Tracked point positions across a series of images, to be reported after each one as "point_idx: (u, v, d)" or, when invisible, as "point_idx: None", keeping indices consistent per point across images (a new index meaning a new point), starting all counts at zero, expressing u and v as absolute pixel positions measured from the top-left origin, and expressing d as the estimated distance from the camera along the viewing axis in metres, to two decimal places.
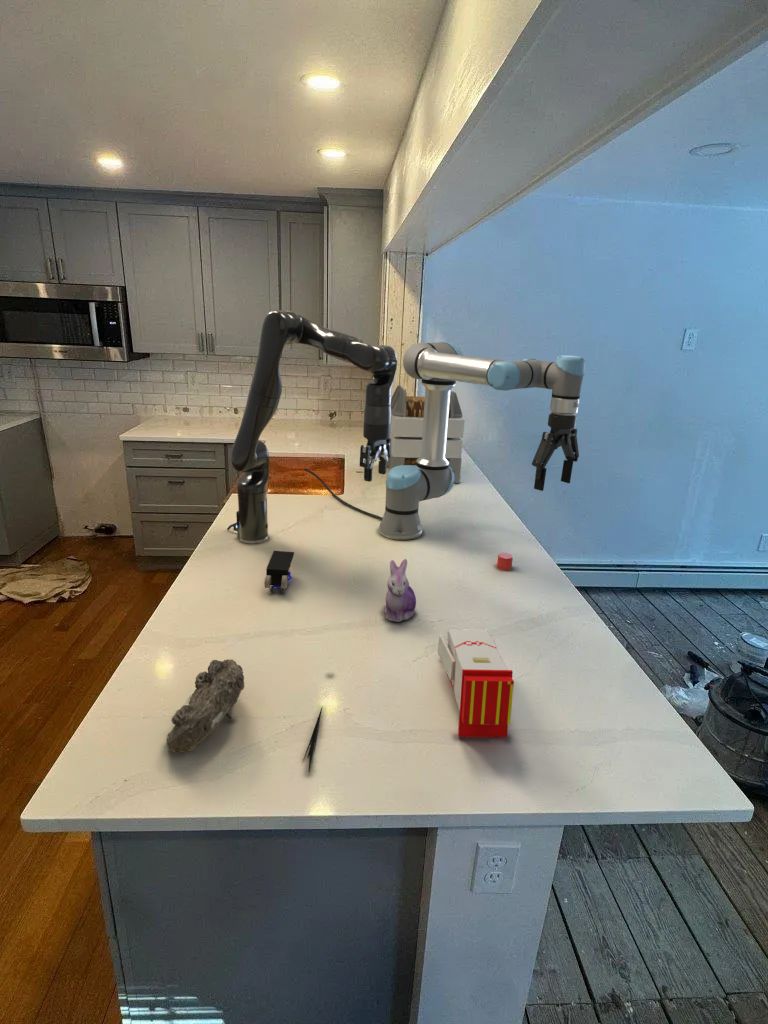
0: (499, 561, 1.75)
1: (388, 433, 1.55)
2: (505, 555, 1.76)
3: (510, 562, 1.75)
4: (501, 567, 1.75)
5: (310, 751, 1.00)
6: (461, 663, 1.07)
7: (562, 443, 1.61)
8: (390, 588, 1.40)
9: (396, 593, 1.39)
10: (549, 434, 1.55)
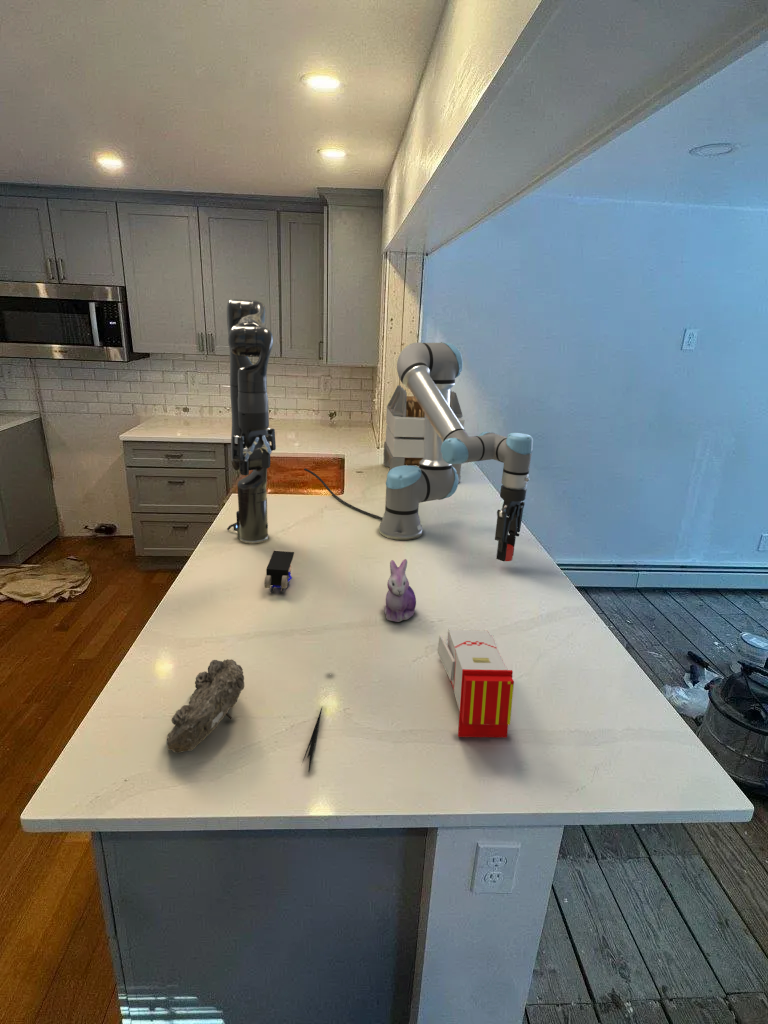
0: None
1: (264, 422, 1.42)
2: None
3: (511, 553, 1.74)
4: None
5: (310, 751, 1.00)
6: (461, 663, 1.07)
7: (514, 513, 1.71)
8: (390, 588, 1.40)
9: (396, 593, 1.39)
10: (503, 513, 1.65)
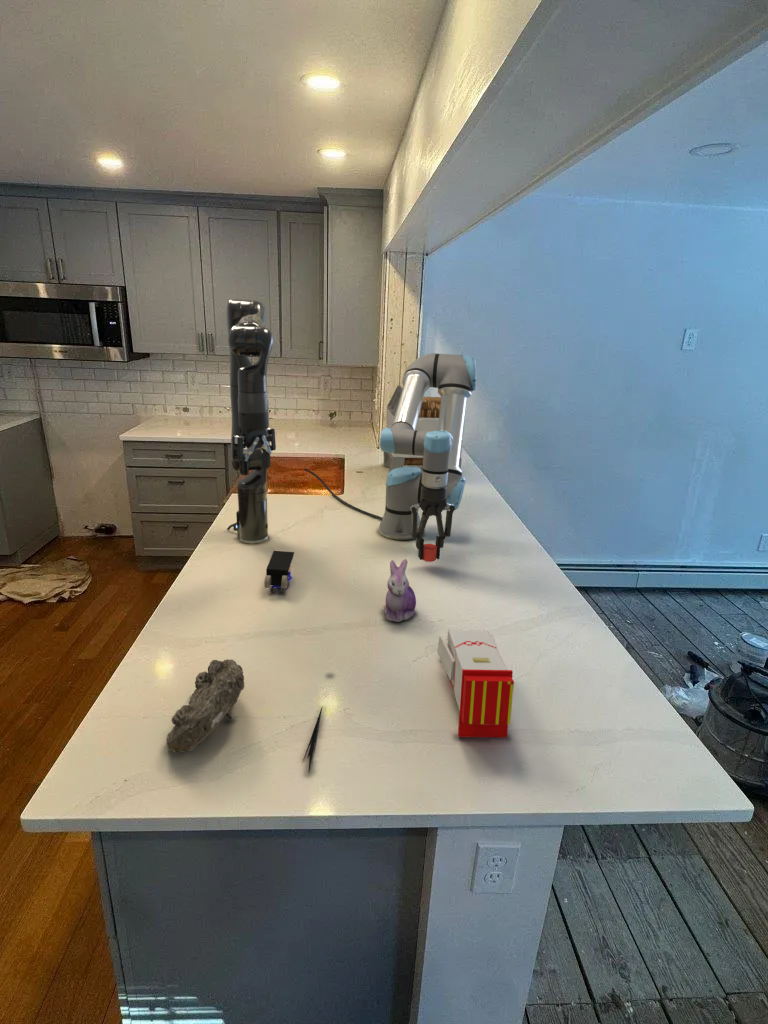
0: None
1: (264, 422, 1.42)
2: (429, 546, 1.72)
3: (429, 553, 1.71)
4: None
5: (310, 751, 1.00)
6: (461, 663, 1.07)
7: (433, 513, 1.68)
8: (390, 588, 1.40)
9: (396, 593, 1.39)
10: (411, 508, 1.66)
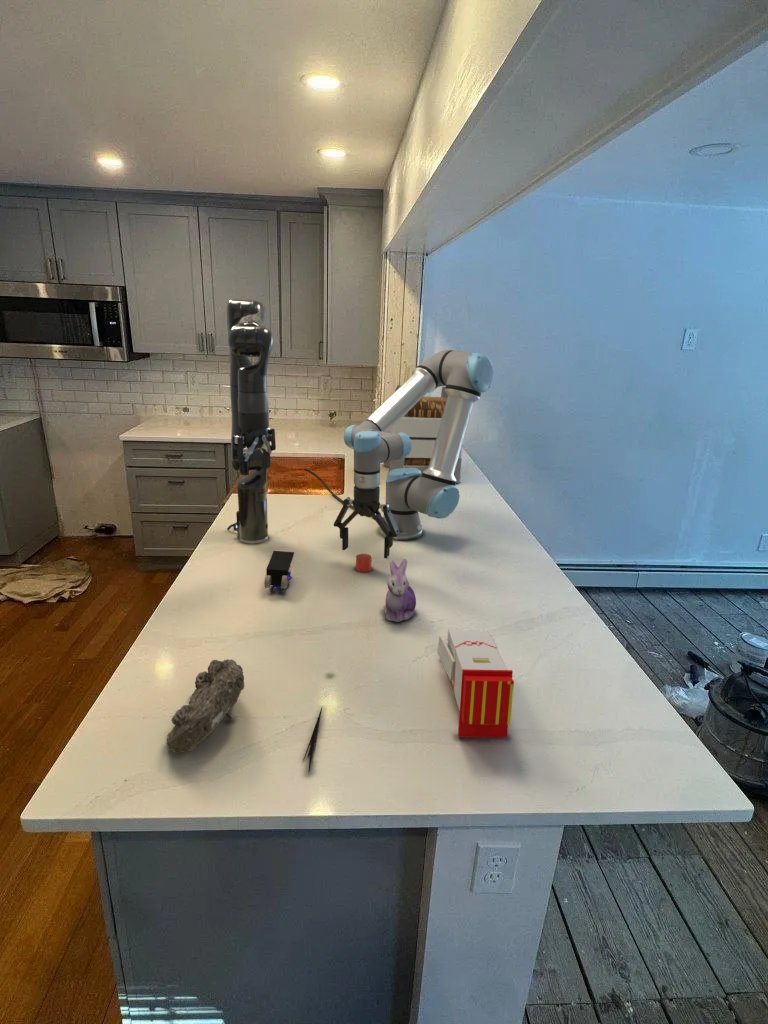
0: None
1: (264, 422, 1.42)
2: (364, 556, 1.71)
3: (359, 563, 1.70)
4: None
5: (310, 751, 1.00)
6: (461, 663, 1.07)
7: (365, 514, 1.65)
8: (390, 588, 1.40)
9: (396, 593, 1.39)
10: (344, 500, 1.67)
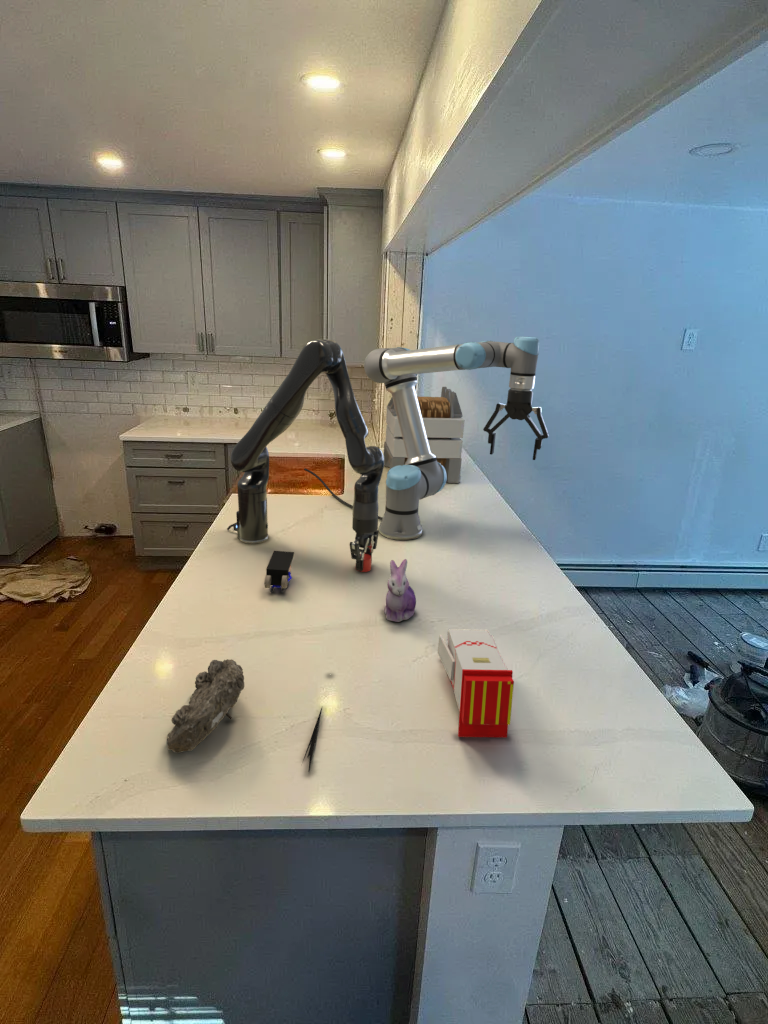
0: None
1: (375, 526, 1.65)
2: (364, 556, 1.71)
3: None
4: None
5: (310, 751, 1.00)
6: (461, 663, 1.07)
7: (517, 417, 1.76)
8: (390, 588, 1.40)
9: (396, 593, 1.39)
10: (497, 404, 1.78)
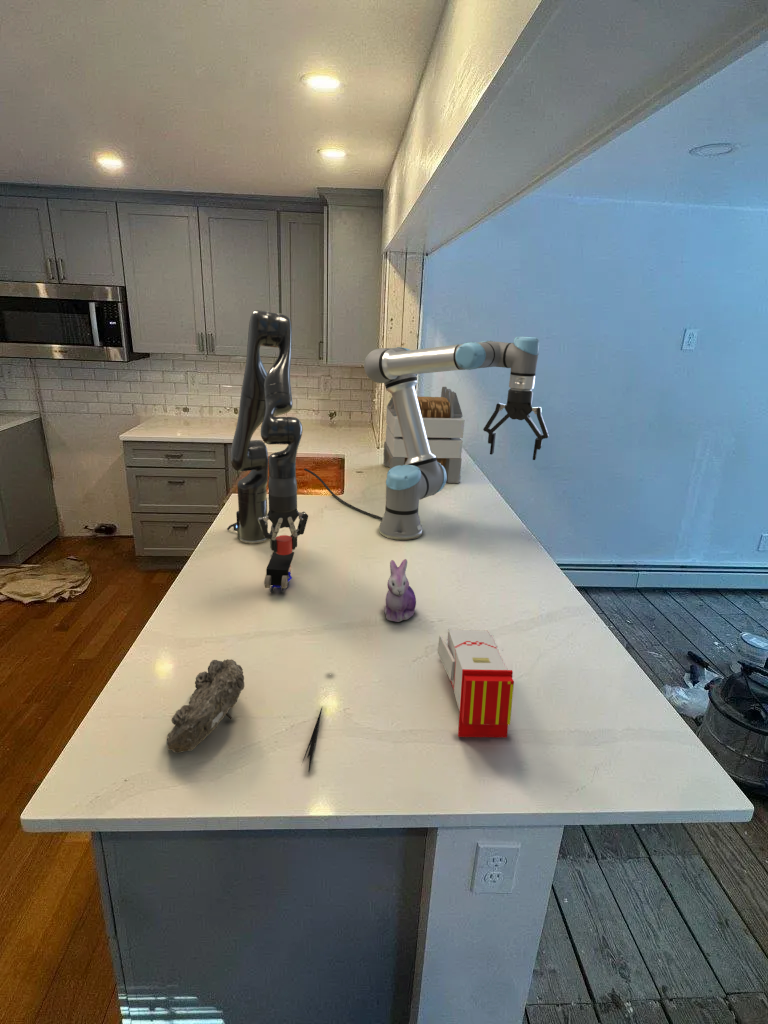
0: None
1: (286, 506, 1.49)
2: (284, 538, 1.56)
3: None
4: None
5: (310, 751, 1.00)
6: (461, 663, 1.07)
7: (517, 417, 1.76)
8: (390, 588, 1.40)
9: (396, 593, 1.39)
10: (497, 404, 1.78)
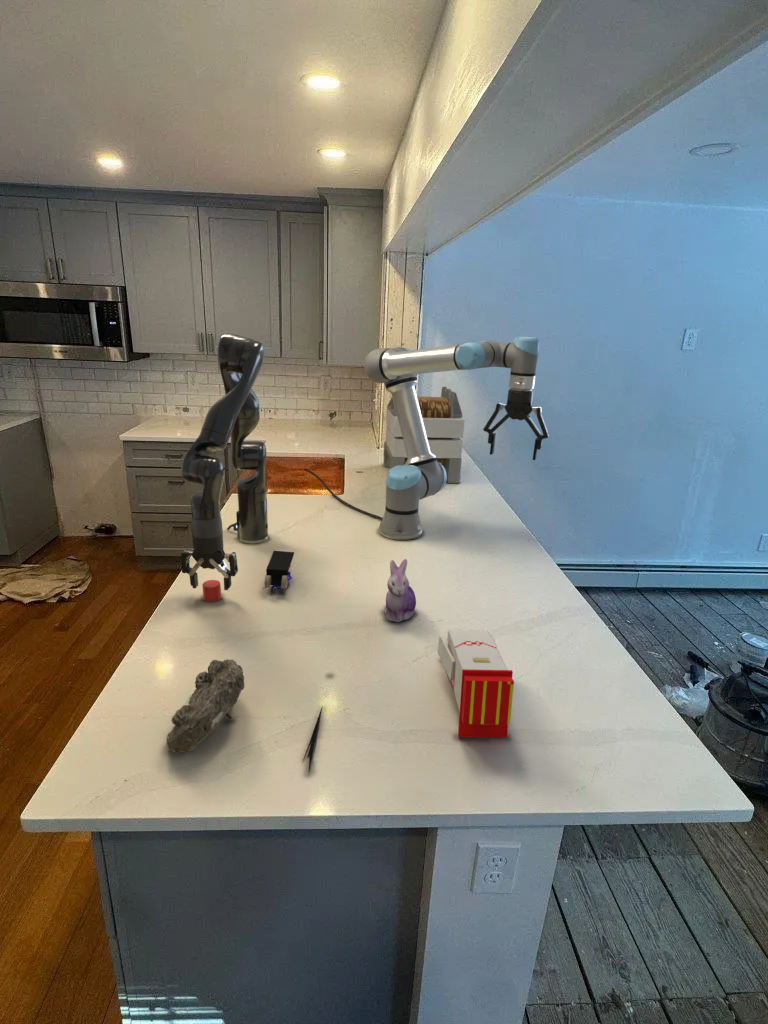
0: None
1: (201, 547, 1.43)
2: (211, 583, 1.50)
3: None
4: None
5: (310, 751, 1.00)
6: (461, 663, 1.07)
7: (517, 417, 1.76)
8: (390, 588, 1.40)
9: (396, 593, 1.39)
10: (497, 404, 1.78)
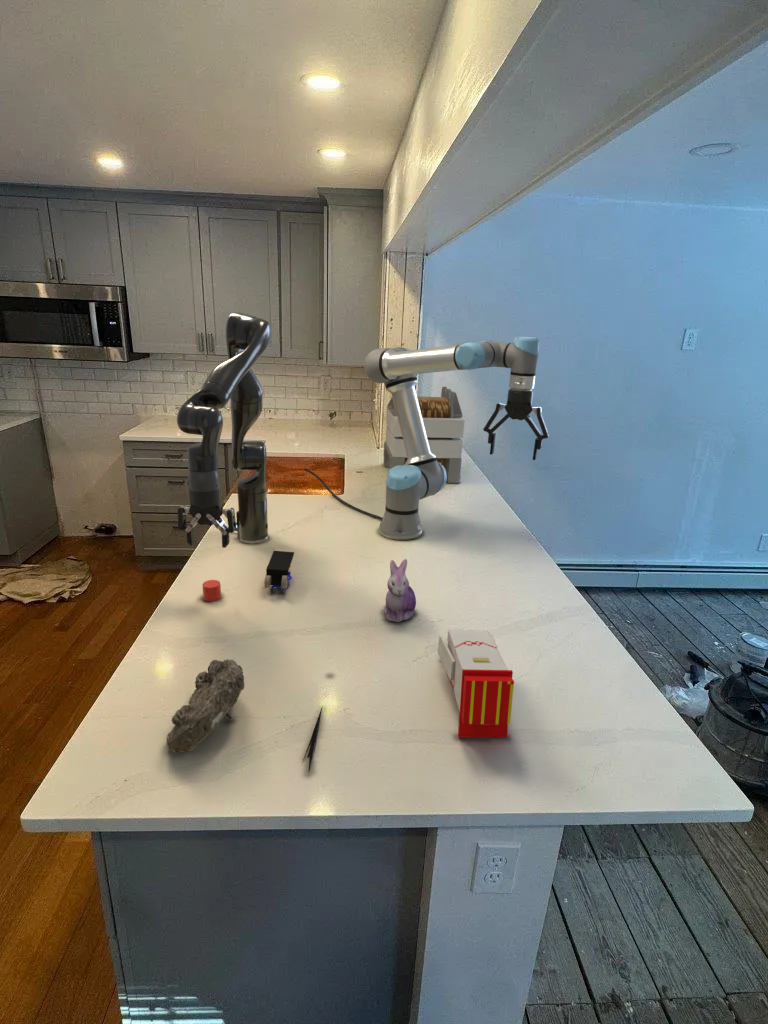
0: None
1: (199, 501, 1.39)
2: (211, 583, 1.50)
3: None
4: None
5: (310, 751, 1.00)
6: (461, 663, 1.07)
7: (517, 417, 1.76)
8: (390, 588, 1.40)
9: (396, 593, 1.39)
10: (497, 404, 1.78)
